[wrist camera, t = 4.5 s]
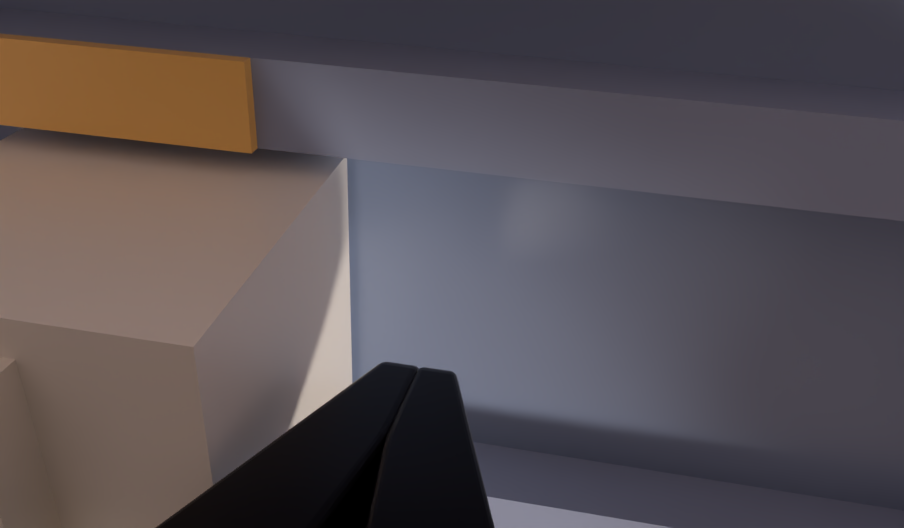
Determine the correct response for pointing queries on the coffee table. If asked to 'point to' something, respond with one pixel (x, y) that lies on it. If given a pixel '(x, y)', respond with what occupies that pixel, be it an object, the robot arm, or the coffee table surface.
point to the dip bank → (570, 222)
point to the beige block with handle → (159, 319)
